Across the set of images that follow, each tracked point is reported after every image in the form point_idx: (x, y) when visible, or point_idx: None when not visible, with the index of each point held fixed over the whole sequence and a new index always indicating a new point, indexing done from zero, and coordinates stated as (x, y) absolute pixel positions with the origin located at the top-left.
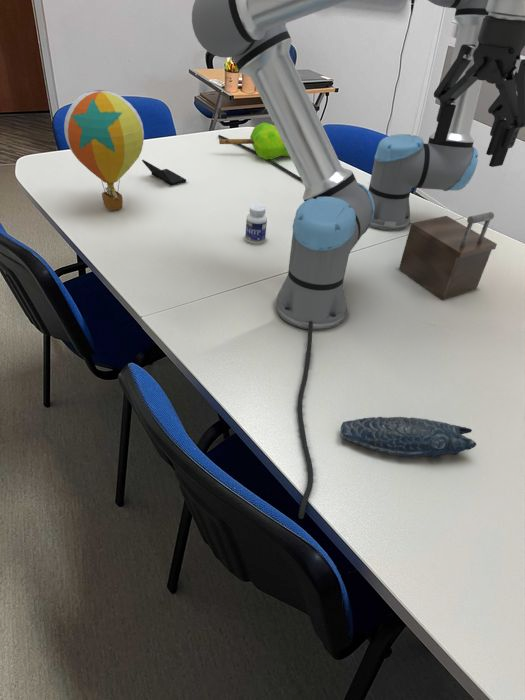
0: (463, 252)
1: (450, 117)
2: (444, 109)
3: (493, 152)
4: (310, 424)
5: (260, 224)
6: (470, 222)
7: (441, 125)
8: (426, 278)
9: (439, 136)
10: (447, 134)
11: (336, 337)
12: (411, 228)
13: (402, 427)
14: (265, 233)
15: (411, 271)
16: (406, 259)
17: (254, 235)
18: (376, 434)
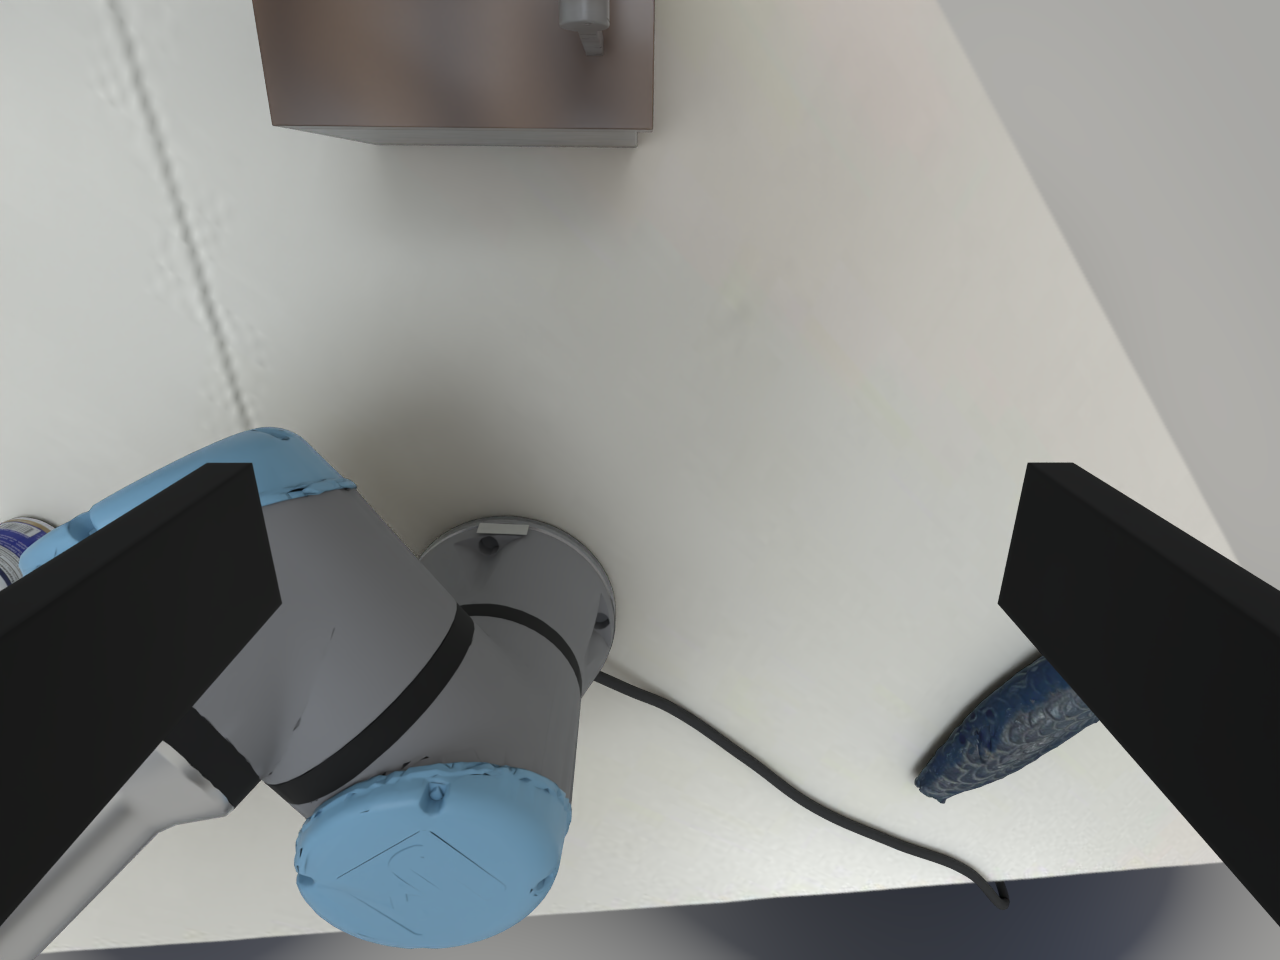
0: (651, 107)
1: (65, 650)
2: (8, 909)
3: (1068, 680)
4: (863, 806)
5: None
6: (593, 29)
7: (174, 707)
8: (526, 143)
9: (244, 610)
10: (207, 496)
11: (653, 616)
12: (296, 127)
13: (1033, 746)
14: (30, 540)
15: (439, 143)
16: (382, 140)
17: None
18: (997, 776)
